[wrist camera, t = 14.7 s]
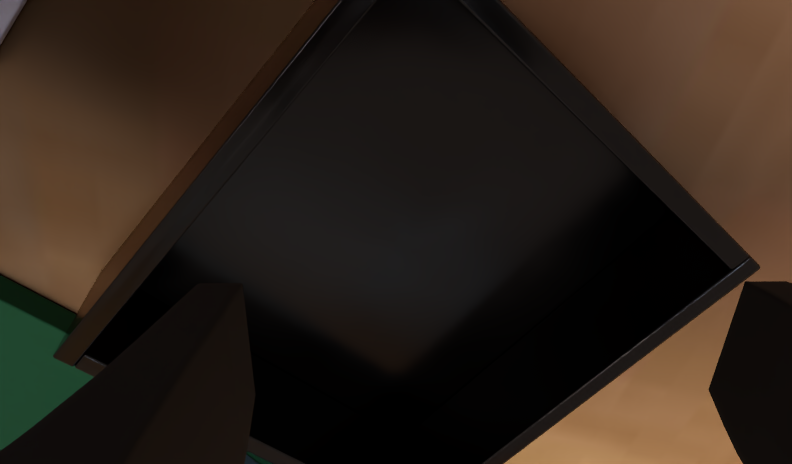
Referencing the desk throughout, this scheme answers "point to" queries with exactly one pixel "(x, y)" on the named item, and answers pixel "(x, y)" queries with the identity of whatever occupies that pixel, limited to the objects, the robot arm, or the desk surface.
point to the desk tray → (418, 240)
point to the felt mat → (34, 361)
